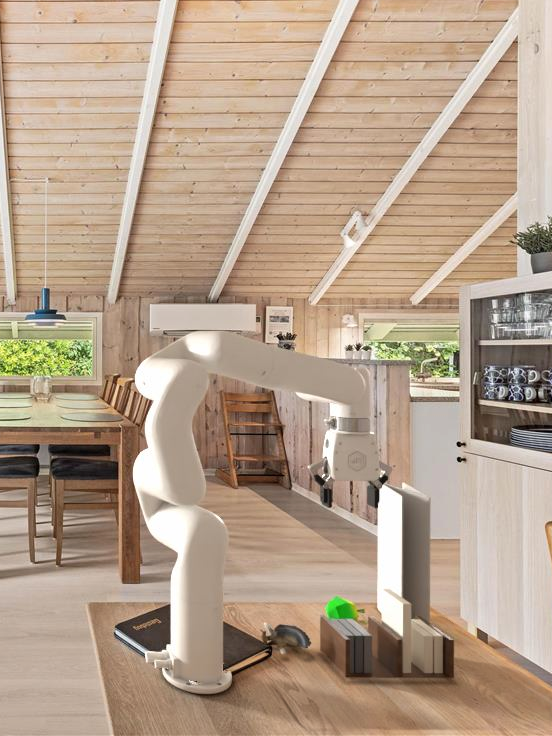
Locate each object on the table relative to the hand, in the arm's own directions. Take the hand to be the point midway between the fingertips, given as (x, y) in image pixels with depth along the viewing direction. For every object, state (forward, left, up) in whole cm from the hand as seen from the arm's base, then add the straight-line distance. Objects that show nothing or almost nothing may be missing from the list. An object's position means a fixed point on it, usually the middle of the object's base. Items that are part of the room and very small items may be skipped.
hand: (349, 506), depth 131 cm
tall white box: (+16, +8, -28) cm, 34 cm away
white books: (+8, -11, -27) cm, 31 cm away
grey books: (-6, -11, -27) cm, 30 cm away
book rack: (+1, -11, -28) cm, 30 cm away
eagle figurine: (-16, -6, -28) cm, 33 cm away
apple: (+3, +7, -28) cm, 30 cm away
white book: (+3, -11, -27) cm, 30 cm away
